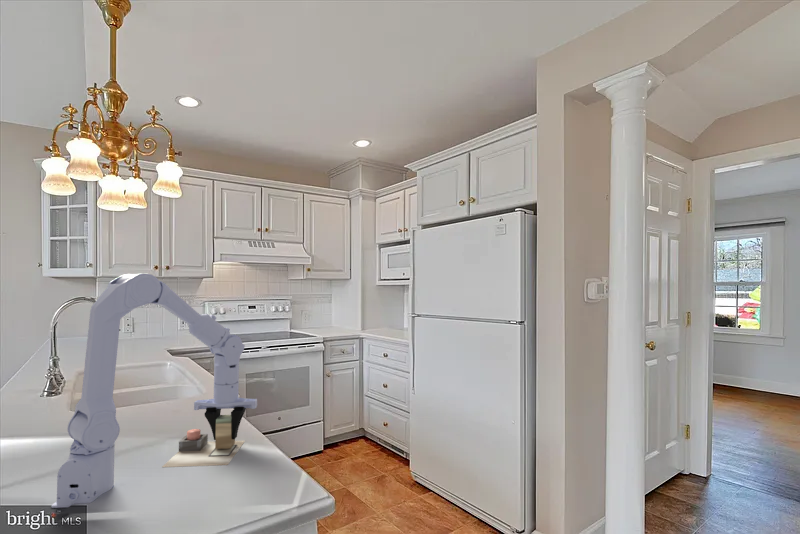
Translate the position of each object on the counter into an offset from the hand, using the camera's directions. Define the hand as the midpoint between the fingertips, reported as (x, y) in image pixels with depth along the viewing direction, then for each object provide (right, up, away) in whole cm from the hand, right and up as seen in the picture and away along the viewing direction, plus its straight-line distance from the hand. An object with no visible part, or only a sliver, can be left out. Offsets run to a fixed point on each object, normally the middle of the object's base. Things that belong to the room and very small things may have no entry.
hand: (225, 438), depth 107 cm
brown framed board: (-3, -3, -3) cm, 5 cm away
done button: (-8, -1, 0) cm, 8 cm away
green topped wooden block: (0, -2, 0) cm, 2 cm away
